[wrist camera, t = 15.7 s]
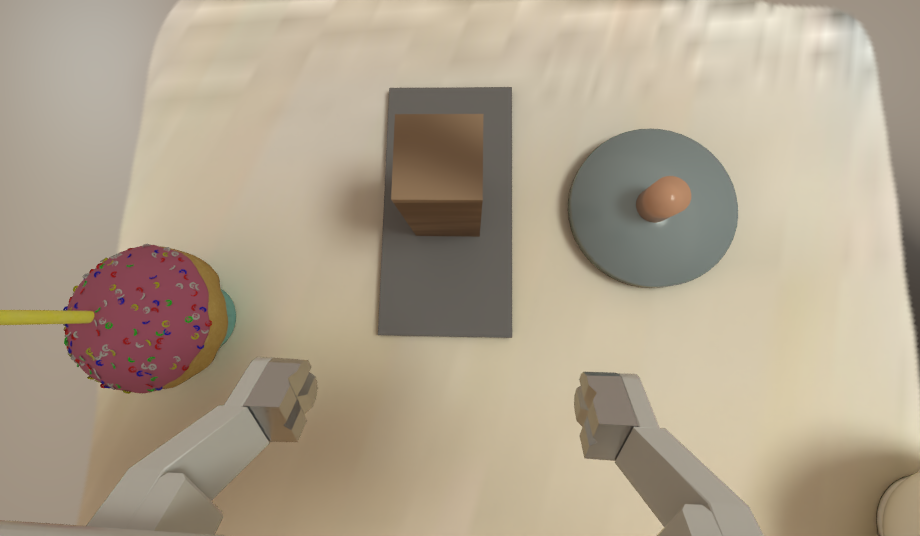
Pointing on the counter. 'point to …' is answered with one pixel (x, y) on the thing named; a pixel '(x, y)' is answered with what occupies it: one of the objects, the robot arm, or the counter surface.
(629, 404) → the robot arm
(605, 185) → the slate saucer
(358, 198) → the counter surface
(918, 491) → the lidded jar
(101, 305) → the cupcake
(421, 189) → the brown rectangular block
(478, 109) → the rubber mat
